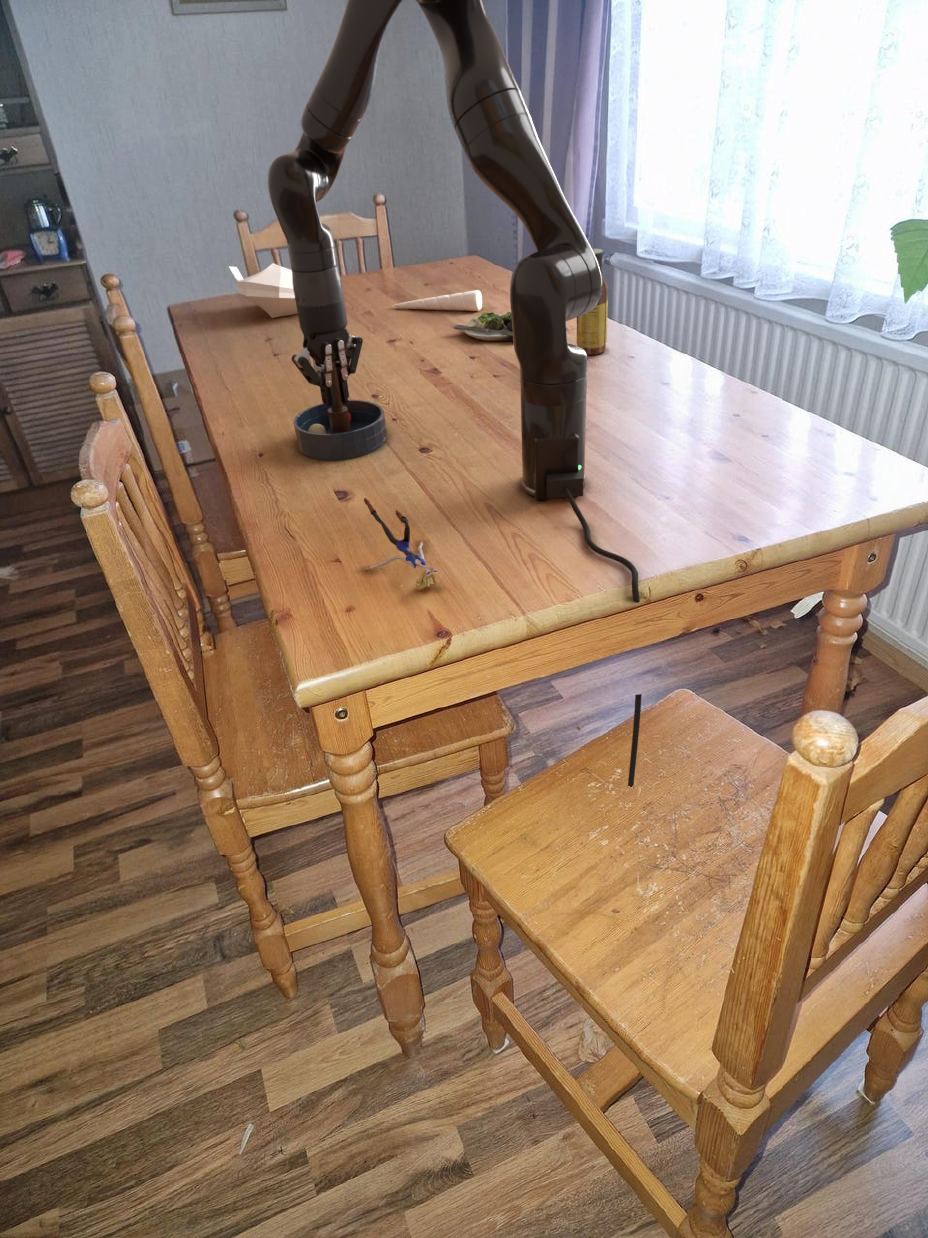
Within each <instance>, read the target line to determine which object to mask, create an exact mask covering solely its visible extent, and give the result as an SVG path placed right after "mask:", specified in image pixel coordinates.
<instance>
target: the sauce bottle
mask: <svg viewBox="0 0 928 1238" xmlns="http://www.w3.org/2000/svg"><path fill="white" fill-rule="evenodd" d="M591 249H592V251H593V253H594V255H595V257H596V259H597V262H598V265H599V268H600V272H601V278H602V291H601V296H600V299H599V302H598V303H597V305H596V306H595V308H594V309H593V310H591V311H590V312H588V313H586V314H584V315H581V316H579V317H576V346H578V347H580V348H582V349H583V350H584V351H585V352H586V354H587V356H588V355H590V356H595V355H599V354H602V353H604V352H606V349H607V342H608V308H609V307H608V303H609V299H608V284H607V281H606V280H605V278H604V275H603V259H604V250H603V249H602V248H591Z"/></svg>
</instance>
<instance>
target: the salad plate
mask: <svg viewBox="0 0 928 1238" xmlns="http://www.w3.org/2000/svg"><path fill="white" fill-rule="evenodd" d="M452 327H453V329H454V330H457V331H459V332H462V333H464V334H466V335H467V336H470V337H471V338H474V339H476V340H480V341H483V342H513V330H512V317H511V311H507V312H506V313H503V314H502V313H501V314H499V313H498V314H497V313H495V312H494V311H492V312H482V313H481V315H478V316H474V317H472V318H470V319H469V320H468V323H467V325H463V324H455V325H453V326H452Z"/></svg>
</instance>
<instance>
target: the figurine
mask: <svg viewBox="0 0 928 1238" xmlns="http://www.w3.org/2000/svg"><path fill="white" fill-rule="evenodd" d="M363 502H364V504H365V505H366V506H367V509H368V510H369V513H370V515H371V516H373V518H374V520H375V521H376V522H378V523H379V524H380V526H381V527H382V530H383V532H384V534H385V535H386V537H387V539H388V540H389V542H390V543H391V544H392V545H394V546H395V547H396V549H397V550H398V551H399V552H401V553H403V554H404V555H405V557H403V556H402V555H400V554H395V555H393V556H392V557H389V558H388V559H387V560H385V561H382V562H380V563H377V564H374V565H372V566H368V567H366V568H365V569H364V571H368V570H371V571H372V570H375V569H377V568H381V567H383V566H386V565H389V564H390V563H392V562H393V561H395V560H401V561H403V562H404V563H406V564H408V565H409V566H411V567H412V568H413V569H416V568H417V567H419V568H421V569H423V571H422V572H421V574H420V575H419V577H418V578H417V579H415V582H416V583H417V584H415V587H416V588H417V590H419V591H421V590H422V589H426V588H430V586H433V585H435V586H436V585H438V582H437V579H436V578H437V577H436V574H438V575H439V571H438V569H437V568H434V567H433V566H427V565H426V560H425V559H426V558H425V555H424V551H423V546H424V542H423V541H421V542H420V543H419V545H418V547H417V551H418V553H419V554H418V553H414V552H413V550H411V548H410V543H411V541H410V540H411V529H410V525H409V519H407V517H406V516H404V515H403V514H402V513H401V511H399V510H398V509H395V515H396V517H397V518H398V520H399V521H400V522H401V523H402V524H404V531H403V538H402V539H398V538H396V537H395V535H394V534H393V533H392V531H391V529H390V528H389V527H388V525H387V524H386V523H385V522H384V520H382V518H381V517H380V516H379V514H378V513H377V510H376V509H375V507H374V505H372V503H371V502H370V500H369V499H368V498H366V497H364V498H363ZM426 603H428V601H427V602H426Z"/></svg>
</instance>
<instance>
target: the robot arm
mask: <svg viewBox="0 0 928 1238" xmlns="http://www.w3.org/2000/svg"><path fill="white" fill-rule="evenodd" d="M403 1H404V0H347V3H346V5H345V9H344V12H343V15H342V18H341V22H340V24H339V28H338V31H337V34H336V37H335V39H334V41H333V45H332V48H331V50H330V52H329V55H328V58H327V59H326V62H325V64H324V67H323V69H322V71H321V73H320V75H319V77H318V79H317V82H316V84H315V85H314V88H313V90H312V91H311V94H310V96H309V98H308V100H307V102H306V105H305V107H304V109H303V111H302V113H301V114H302V115H301V118H300V127H301V130H302V133H301V136H300V138H299V141H298V143H297V145H296V147H295V149H294V150H293V151H289V152H288V153H284V154H281V155H278V156H277V157H276V158H275V159H274V160H273V161H272V162H271V164H270V165H269V167H268V171H267V172H268V173H267V191H268V195H269V199H270V202H271V205H272V208H273V210H274V213H275V215H276V218H277V220H278V223H279V226H280V228H281V231H282V232H283V236H284V237H285V240H286V244H287V252H288V258H289V264H290V268H291V269H290V270H292V282H293V290H294V295H295V300H296V306H297V312H298V314H297V317H298V322H299V328H300V330H301V333H302V335H303V341H302V349H301V351H300V352H299V353H298V354H292V356H291V361H292V363H293V364H294V366H295V367H296V368H297V369H298V371H299V372H300V374H301V375H302V376H303V378H304V379H305V381H307V382H308V384H310V385H313V386H317V387H319V390H320V396H321V401H322V403H323V404H325V405H326V406H327V407H330V408H334V407H336V401H335V395H334V389H333V386H332V378H331V372H332V371H333V368H332V362H335V361H336V365H337V372H338V378H339V384H340V390H341V397H342V403H346V402H348V400H349V398H350V392H349V385H348V379H349V377H350V376H351V375H354V374H355V373H356V372H357V368H358V364H359V359H360V355H361V351H362V347H363V343H364V342H363V341H364V340H363V338H362V337H360V336H357V335H354V334H353V335H352V334H350V332H349V330H348V328H347V326H348V317H347V311H346V310H347V309H346V302H345V297H344V289H343V283H342V277H341V274H340V271H339V266H338V259H337V253H336V247H335V240H334V236H333V232H332V229H331V228H330V226H328V224H326V223H324V222H322V221H321V217H320V214H319V211H318V208H317V203H318V202H320V201H321V200H322V199H324V198H325V197H326V196H327V194H328V193H329V192H330V190H331V188H332V187H333V185H334V183H335V181H336V179H337V175H338V174H339V170H340V169H341V168H340V167H341V164H342V161H343V159H344V156H345V152H346V148H347V146H348V144H349V143H350V141H351V140H352V137H353V136H354V135H355V132H356V130H357V129H358V126H359V125H360V123H361V121H362V119H363V118H364V115H365V113H366V111H367V110H368V106H369V105H370V102H371V99H372V97H373V92H374V88H375V84H376V78H377V71H378V61H379V56H380V51H381V46H382V42H383V39H384V36H385V34H386V31H387V28H388V26H389V24H390V22H391V19H392V17H393V16H394V14H395V13H396V11H397V9H398V8H399V7H400V5H401V4H402V2H403ZM415 2H416V3H417V4H418V6H419V8H420V10H421V11H422V13H423V15H424V16H425V18H426V20H427V23H428V24H429V27H430V29H431V31H432V33H433V35H434V37H435V39H436V42H437V45H438V47H439V51H440V53H441V56H442V62H443V68H444V80H445V81H444V83H445V95H446V104H447V109H448V115H449V118H450V121H451V124H452V126H453V130H454V132H455V134H456V136H457V139H458V141H459V144H460V145H461V148H462V151H463V153H464V155H465V157H466V160H467V162H468V164H469V165H470V167H471V169H472V170H473V172H474V173H475V175H476V176H477V177H478V179H480V180H481V182H482V183H483V184H484V185H485V186H486V187H487V188H488V189H489V190H490V191H491V192H492V193H493V194H495V196H496V197H498V199H500V200H501V201H502V202H503V203H504V204H505V205H506V206H507V207H508V208H509V210H511V211H512V212H513V213H514V214H515V215H516V217H517V218H518V219H519V221H521V223H522V224H523V226H524V227H525V229H526V231H527V233H528V235H529V237H530V239H531V241H532V243H533V245H534V248H535V250H536V251H534V252H531V253H529V254H526V255H525V256H523V257H521V258H520V259H519V260H518V261H517V263H516V264H515V265H514V268H513V270H512V272H511V273H512V274H511V277H510V285H509V301H510V312H511V317H512V330H513V341H512V342H513V349H514V353H515V356H516V359H517V361H518V365H519V374H520V375H519V378H520V379H519V381H520V382H519V383H520V428H521V430H520V431H521V432H520V433H521V465H522V466H521V467H522V471H521V472H522V473H521V474H522V477H521V488H522V490H523V491H524V492H525V493H526V494H528V495H529V496H532V497H534V498H535V501H550V500H563V499H565V500H566V499H567V501H568V502H569V503H568V504H569V505H570V506H571V509H572V510H573V512H574V514H575V516H576V518H577V519H578V521H579V523H580V524H581V527H582V529H583V533H584V540H585V542H586V544H587V546H588V547H589V548H590V549H591V550H592V551H593V552H595V553H596V554H598V555H600V556H601V557H605V558H608V559H610V560H613V561H616V562H618V563H620V564H622V565H623V566H625V567H626V568H627V569H628V570H629V572H630V573H631V594H632V601H633V602H634V603H635V604H639V603H640V602H641V599H640V591H639V572H638V569H637V568H636V566H635V565H634V564H633V563H632V562H631V561H630V560H629V559H627V558H626V557H623V556H622V555H619V554H617V553H614V552H611V551H608V550H605V549H603V548H601V547H600V546H597V544H595V542H594V541H593V540H592V535H591V530H590V527H589V524H588V522H587V521H586V519H585V516H584V515H583V513H582V511H581V510H580V508H579V506H578V505H577V501H576V500H575V499H577V498H579V497H584V489H585V487H586V474H585V473H586V472H585V469H586V433H587V432H586V431H587V430H586V428H587V427H586V426H587V425H586V424H587V393H588V390H587V388H588V354H586V352H585V351H584V350H583V349H582V348H580V347H578V346H577V344H576V345H575V344H572V343H568V338H567V337H568V336H567V334H568V333H567V322H568V321H570V320H573V319H574V320H575V319H577V317H579V316H581V315H584V314H586V313H588V312H590V311H591V310H593V309H594V308H595V306H596V305H597V303H598V302H599V299H600V296H601V291H602V278H601V272H600V268H599V265H598V262H597V259H596V257H595V255H594V253H593V251H592V249H593V248H592V247H591V244H590V243H589V241H588V238H587V237H586V235H585V233H584V231H583V229H582V228H581V226H580V224H579V222H578V220H577V218H576V216H575V215H574V212H573V211H572V209H571V207H570V205H569V203H568V201H567V199H566V197H565V195H564V192H563V191H562V189H561V186H560V184H559V181H558V180H557V176H556V175H555V172H554V170H553V168H552V166H551V164H550V161H549V159H548V156H547V154H546V152H545V150H544V147H543V145H542V142H541V140H540V138H539V135H538V132H537V130H536V127H535V123H534V122H533V118H532V116H531V113H530V111H529V108H528V105H527V103H526V100H525V99H524V96H523V93H522V91H521V89H520V87H519V85H518V81H516V77H515V76H514V74H513V71H512V69H511V66H510V64H509V61H508V59H507V57H506V54H505V52H504V50H503V48H502V45H501V43H500V40H499V39H498V36H497V34H496V32H495V30H494V27H493V24H492V23H491V20H490V18H489V15H488V13H487V10H486V7H485V4H484V1H483V0H415ZM311 359H312V360H311ZM312 364H313V365H312ZM642 697H643V696H642V694H635V697H634V712H633V713H634V714H633V723H632V724H633V727H632V737H631V749H630V759H629V770H628V781H627V787H628V786H630V787H632V786H633V785H635V777H636V776H635V775H636V766H637V765H636V764H637V756H638V755H637V754H638V746H639V735H640V725H641V711H642ZM633 787H634V786H633Z"/></svg>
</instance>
